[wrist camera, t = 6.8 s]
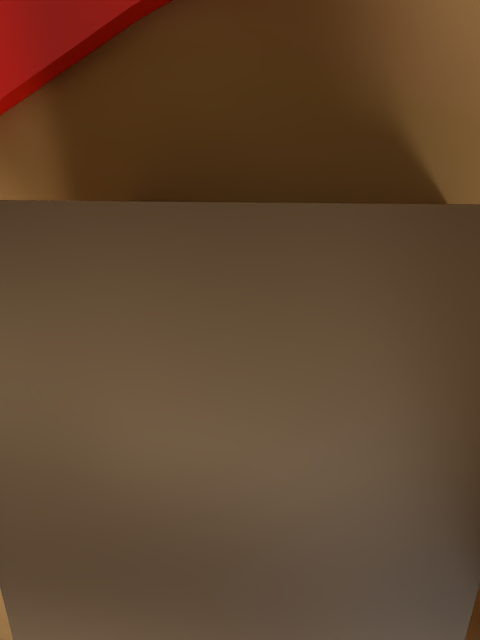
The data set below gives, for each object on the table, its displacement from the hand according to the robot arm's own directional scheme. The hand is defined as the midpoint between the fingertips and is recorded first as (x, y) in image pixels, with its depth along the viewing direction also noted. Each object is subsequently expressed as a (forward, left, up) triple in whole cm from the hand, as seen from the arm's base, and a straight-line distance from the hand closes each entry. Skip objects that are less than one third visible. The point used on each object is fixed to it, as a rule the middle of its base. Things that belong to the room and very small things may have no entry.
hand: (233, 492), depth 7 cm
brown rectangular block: (0, 0, -3) cm, 3 cm away
